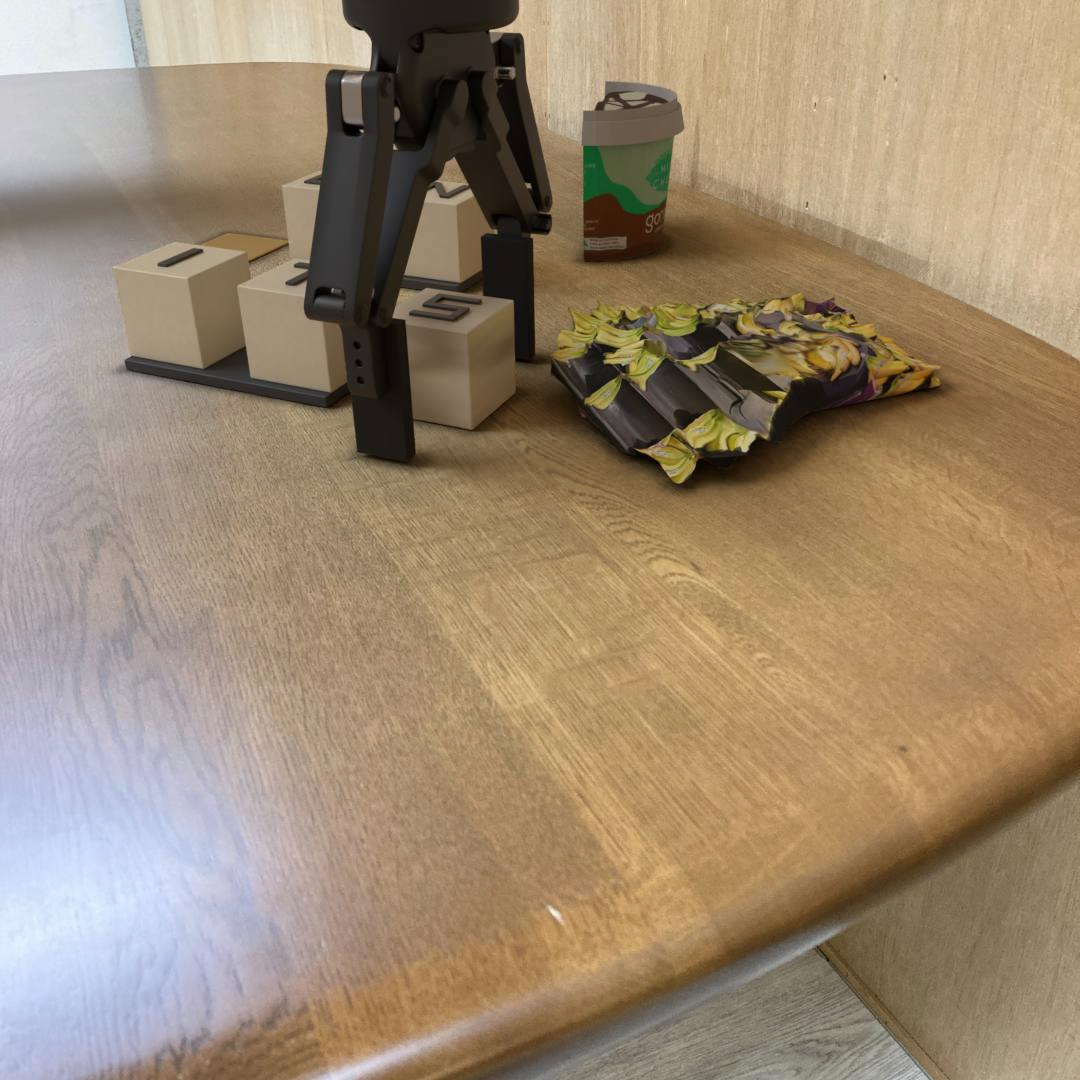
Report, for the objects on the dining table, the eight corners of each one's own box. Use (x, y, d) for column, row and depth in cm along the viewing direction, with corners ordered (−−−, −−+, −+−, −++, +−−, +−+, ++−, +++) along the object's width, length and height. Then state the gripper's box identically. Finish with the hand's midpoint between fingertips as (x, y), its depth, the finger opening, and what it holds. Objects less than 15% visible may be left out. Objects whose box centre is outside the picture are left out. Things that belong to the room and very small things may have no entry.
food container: (671, 271, 76) (679, 114, 71) (580, 267, 77) (581, 112, 72) (684, 221, 87) (691, 81, 81) (603, 218, 87) (606, 79, 82)
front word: (125, 369, 62) (104, 266, 59) (196, 333, 67) (179, 236, 64) (327, 408, 58) (314, 298, 55) (387, 366, 62) (379, 262, 59)
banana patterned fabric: (816, 327, 69) (861, 230, 65) (973, 508, 59) (1039, 406, 54) (512, 324, 61) (541, 213, 57) (631, 534, 51) (677, 416, 46)
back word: (177, 255, 80) (162, 171, 77) (230, 233, 85) (218, 153, 82) (457, 295, 72) (453, 203, 69) (498, 268, 77) (496, 181, 74)
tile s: (383, 414, 57) (374, 315, 54) (431, 378, 61) (425, 284, 58) (472, 430, 55) (468, 329, 53) (516, 392, 59) (514, 296, 56)
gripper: (340, -60, 36) (394, 526, 47) (618, -90, 55) (610, 329, 66) (152, -61, 39) (244, 492, 50) (479, -89, 58) (494, 313, 69)
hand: (454, 400), depth 58 cm, fingers open, 13 cm apart
